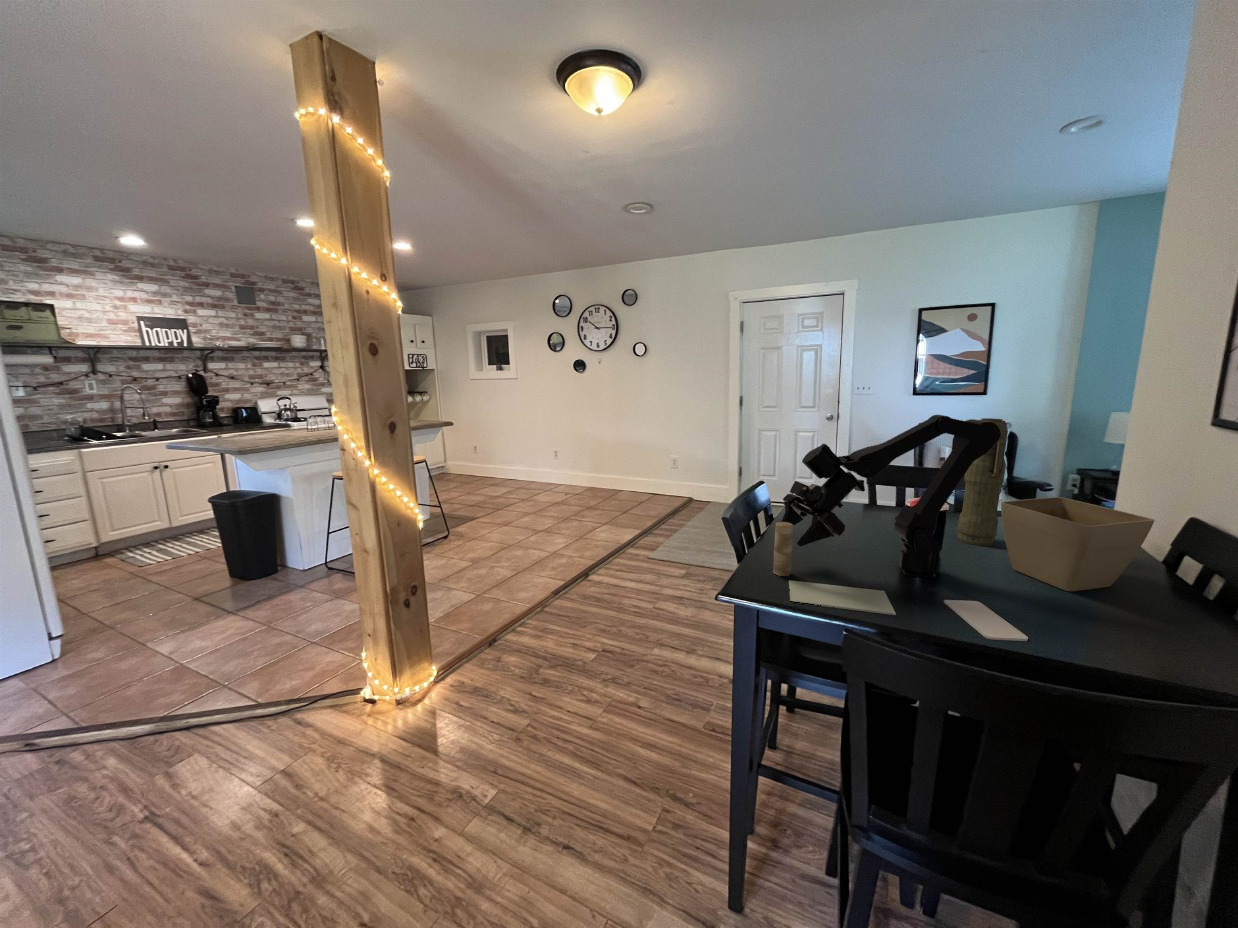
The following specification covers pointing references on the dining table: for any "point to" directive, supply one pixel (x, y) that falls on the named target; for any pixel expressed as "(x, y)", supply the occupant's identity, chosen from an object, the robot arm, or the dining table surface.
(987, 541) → the thermos
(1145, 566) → the dining table surface
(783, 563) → the maple post
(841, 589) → the sage mat
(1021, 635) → the smartphone
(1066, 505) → the flower pot
